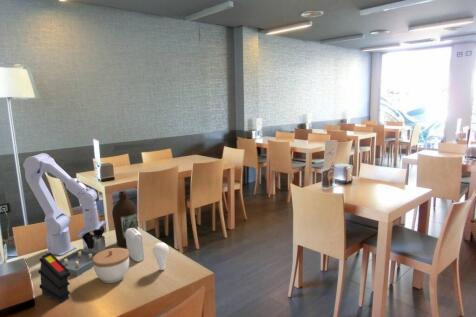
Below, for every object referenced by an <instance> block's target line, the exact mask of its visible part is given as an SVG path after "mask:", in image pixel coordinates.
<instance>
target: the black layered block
mask: <svg viewBox="0 0 476 317" xmlns="http://www.w3.org/2000/svg"><path fill="white" fill-rule="evenodd" d="M59 260H60V259H58V258H57V257H56V256H55V254H52V253H45V254H44V255H41V257H40V258H39V261H40V269H39V270H38V274H39V275H40V284H39V289H41V293H42V295H44V296H46V297H48V298H49V299H52V300H54V301H57V302H59V303H62V302H65V300H67V299H69V298H70V297H69V295H70V294H71V291H69V287H68V286H70V282H69V281H68V280H69V277H70V276H72V275H71V274H70V273H69V270H68V269H67V268H66V267H65V266H64V265H63V264H62V263H61V262H60V261H59Z"/></svg>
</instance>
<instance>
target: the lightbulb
mask: <svg viewBox="0 0 476 317" xmlns="http://www.w3.org/2000/svg"><path fill="white" fill-rule="evenodd" d="M169 252H170V249H169V246H168V244H166V243H165V242H157V243H156V244H155V245H154V246H153V247H152V255H153V257H154V258H155V260H156V262H157V266H158V270H160V271H163V270H165V269H166V263H167V257H168V255H169Z"/></svg>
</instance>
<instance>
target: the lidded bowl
mask: <svg viewBox="0 0 476 317" xmlns="http://www.w3.org/2000/svg"><path fill="white" fill-rule="evenodd" d="M93 265H94V267H93V270H94V273H95V274H96V276H97V278H98V279H100V281H103V282H104V283H105V284H113V283H117V282H120V281H121V280H123V278H124V276H126V274H127V272H128V270H129V268H130V256H129V251H128V250H127V248H125V247H112V248H107V249H104V250H103V251H101V252H99V253H98V252H97V254H96V255H95V256H94V257H93Z"/></svg>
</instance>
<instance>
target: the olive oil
mask: <svg viewBox="0 0 476 317" xmlns="http://www.w3.org/2000/svg"><path fill="white" fill-rule="evenodd" d="M118 197H119V198H118V200H117V202H116V203H115V204H114V206H113V207H112V209H111V210H112V213H111V215H112V220H113V227H114V232H115V238H116V246H118V247H119V248H127V244H126V235H125V232H126V230H127V229H130V228H134V229H136V230H137V231H139V230H138V227H139V226H138V209H137V207H136V204H135V203H134V202H133V201H131V200H130V199H129V198H128V193H127V190H126V189H121V190H119V191H118Z"/></svg>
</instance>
